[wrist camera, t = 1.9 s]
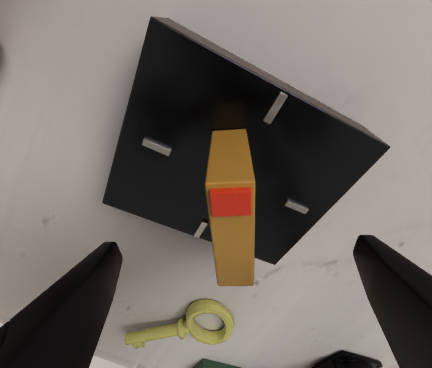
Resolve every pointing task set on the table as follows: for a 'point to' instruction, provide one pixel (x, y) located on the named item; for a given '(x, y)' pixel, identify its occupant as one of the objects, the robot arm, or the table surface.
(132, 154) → the black flat block
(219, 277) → the switch box
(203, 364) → the button block
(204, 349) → the table surface
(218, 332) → the key
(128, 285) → the table surface
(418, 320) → the robot arm
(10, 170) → the table surface
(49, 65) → the table surface
